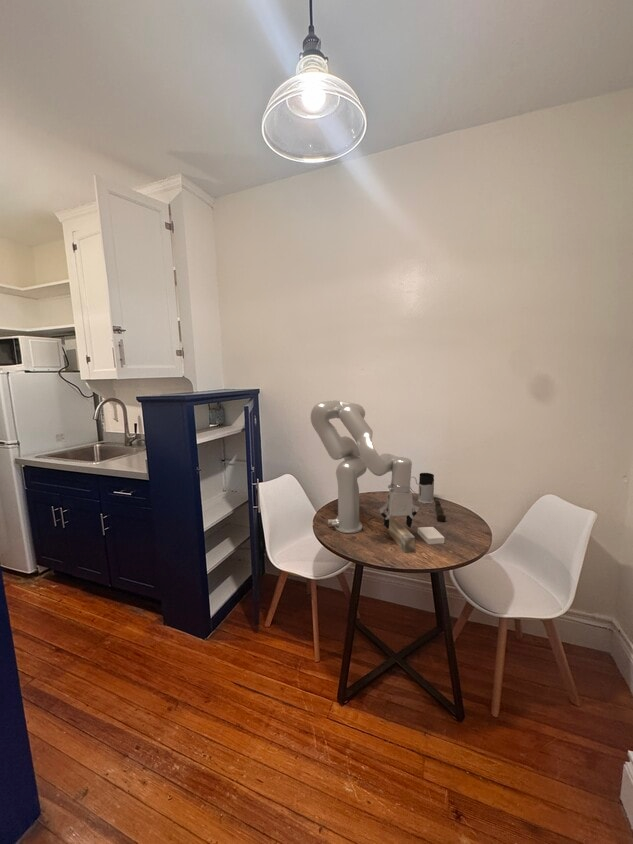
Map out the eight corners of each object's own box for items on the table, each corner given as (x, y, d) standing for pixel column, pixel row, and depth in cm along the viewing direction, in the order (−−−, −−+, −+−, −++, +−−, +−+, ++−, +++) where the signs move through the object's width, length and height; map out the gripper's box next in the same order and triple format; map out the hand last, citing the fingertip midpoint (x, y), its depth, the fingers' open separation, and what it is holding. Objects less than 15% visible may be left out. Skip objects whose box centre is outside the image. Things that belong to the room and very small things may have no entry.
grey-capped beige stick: (404, 552, 125) (404, 538, 125) (387, 531, 143) (387, 518, 142) (414, 551, 126) (414, 537, 125) (396, 531, 144) (396, 518, 143)
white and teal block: (417, 533, 142) (428, 545, 132) (417, 527, 141) (428, 538, 132) (432, 532, 143) (444, 544, 133) (432, 526, 142) (444, 537, 132)
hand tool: (445, 523, 151) (446, 513, 151) (436, 522, 152) (437, 513, 152) (442, 508, 169) (442, 499, 169) (434, 507, 170) (434, 498, 170)
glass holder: (436, 503, 174) (437, 477, 173) (409, 503, 176) (410, 476, 174) (431, 498, 183) (432, 472, 181) (406, 497, 184) (406, 472, 182)
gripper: (383, 491, 127) (381, 532, 129) (424, 490, 129) (421, 530, 132) (377, 485, 134) (374, 523, 137) (416, 483, 137) (413, 521, 139)
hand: (397, 526), depth 134 cm, fingers open, 9 cm apart
